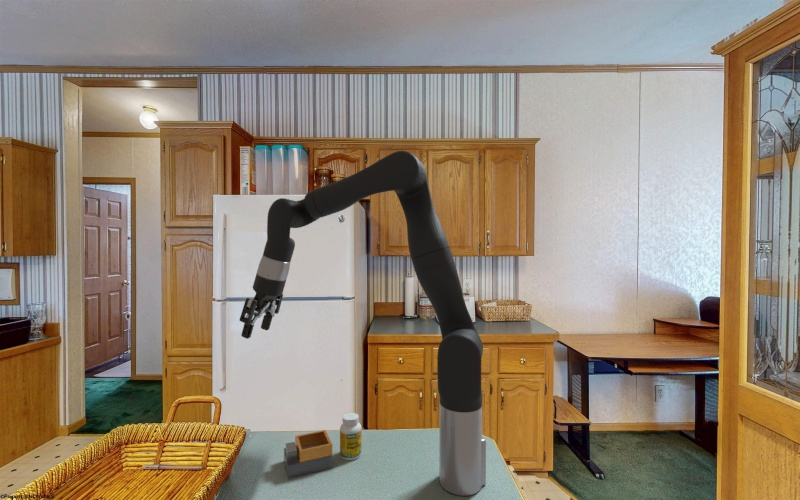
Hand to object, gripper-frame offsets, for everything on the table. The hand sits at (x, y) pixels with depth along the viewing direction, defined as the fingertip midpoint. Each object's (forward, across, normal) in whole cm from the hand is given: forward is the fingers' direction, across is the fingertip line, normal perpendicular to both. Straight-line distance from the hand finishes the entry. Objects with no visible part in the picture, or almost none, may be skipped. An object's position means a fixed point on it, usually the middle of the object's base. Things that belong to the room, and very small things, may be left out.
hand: (255, 333), depth 93 cm
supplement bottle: (+20, -1, -34) cm, 39 cm away
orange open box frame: (+22, -6, -26) cm, 34 cm away
